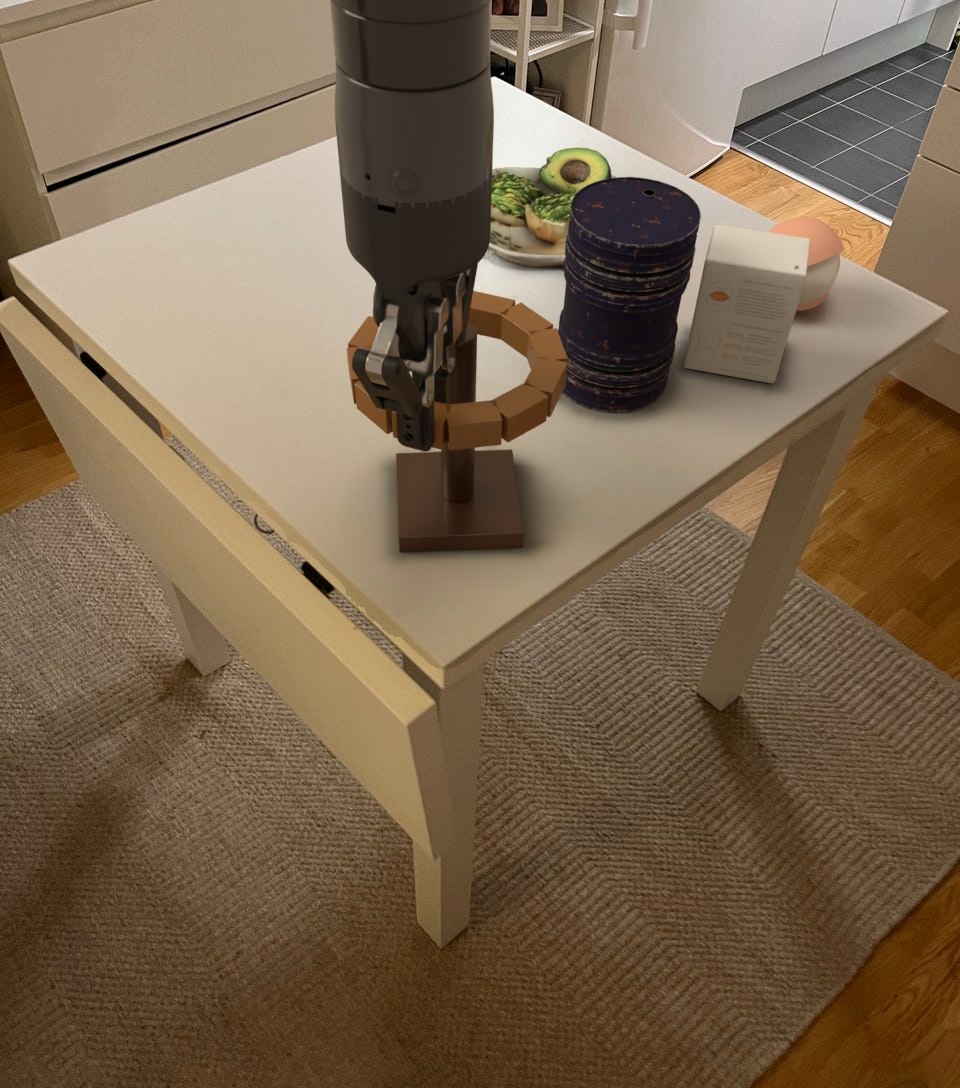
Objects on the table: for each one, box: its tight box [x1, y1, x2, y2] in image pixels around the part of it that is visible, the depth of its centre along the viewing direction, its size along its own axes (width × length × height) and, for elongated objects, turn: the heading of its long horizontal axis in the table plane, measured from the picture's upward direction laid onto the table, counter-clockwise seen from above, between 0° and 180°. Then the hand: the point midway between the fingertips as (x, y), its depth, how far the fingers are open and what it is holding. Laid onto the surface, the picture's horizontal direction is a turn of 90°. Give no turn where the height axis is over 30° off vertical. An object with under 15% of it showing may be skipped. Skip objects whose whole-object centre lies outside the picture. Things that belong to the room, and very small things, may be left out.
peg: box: [395, 322, 525, 553], centre depth 69 cm, size 9×9×16 cm
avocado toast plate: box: [487, 147, 617, 268], centre depth 97 cm, size 19×18×5 cm
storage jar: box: [557, 176, 702, 414], centre depth 79 cm, size 10×10×15 cm
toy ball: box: [768, 216, 845, 312], centre depth 89 cm, size 8×8×8 cm
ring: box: [346, 290, 568, 451], centre depth 65 cm, size 14×14×2 cm
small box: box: [683, 223, 810, 384], centre depth 83 cm, size 8×6×10 cm
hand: (424, 431), depth 62 cm, fingers closed on ring, 2 cm apart
